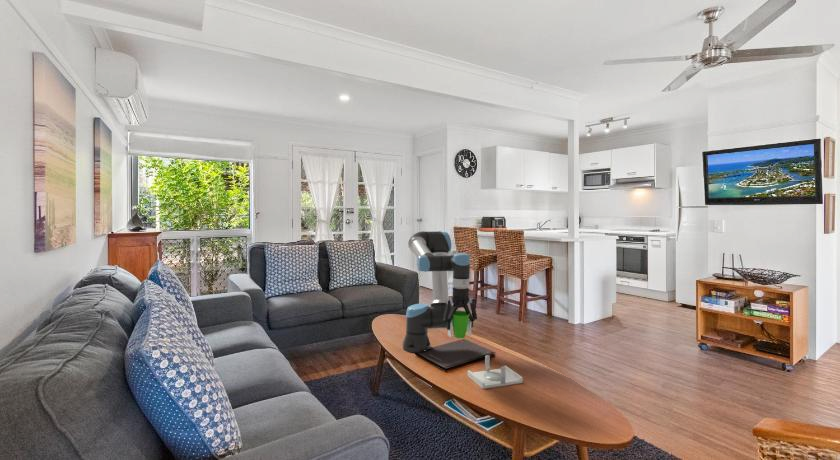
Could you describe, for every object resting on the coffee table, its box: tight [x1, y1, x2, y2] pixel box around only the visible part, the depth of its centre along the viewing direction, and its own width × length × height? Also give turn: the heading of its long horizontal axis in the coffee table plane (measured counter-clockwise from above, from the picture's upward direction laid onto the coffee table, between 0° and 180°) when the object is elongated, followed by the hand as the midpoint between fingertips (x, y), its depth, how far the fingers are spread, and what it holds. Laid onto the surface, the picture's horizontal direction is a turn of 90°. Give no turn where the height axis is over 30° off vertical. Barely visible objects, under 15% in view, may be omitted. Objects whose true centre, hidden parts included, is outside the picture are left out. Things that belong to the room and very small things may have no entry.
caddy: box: [467, 354, 524, 390], centre depth 181 cm, size 16×20×8 cm
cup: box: [452, 310, 470, 339], centre depth 186 cm, size 9×9×11 cm
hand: (459, 335), depth 187 cm, fingers closed on cup, 9 cm apart
